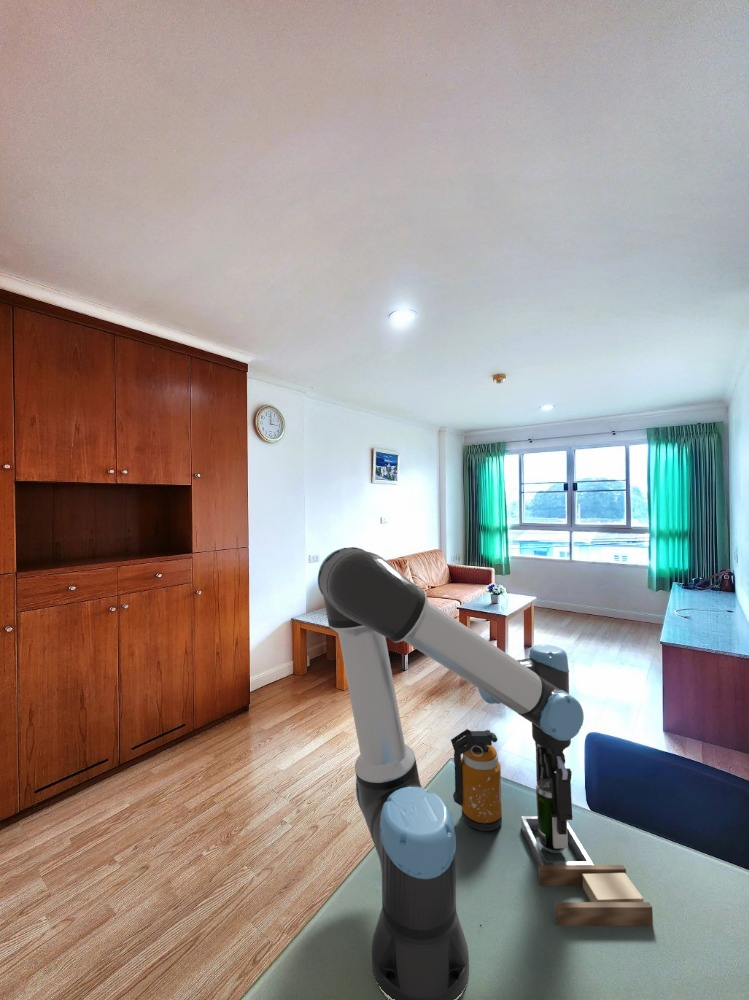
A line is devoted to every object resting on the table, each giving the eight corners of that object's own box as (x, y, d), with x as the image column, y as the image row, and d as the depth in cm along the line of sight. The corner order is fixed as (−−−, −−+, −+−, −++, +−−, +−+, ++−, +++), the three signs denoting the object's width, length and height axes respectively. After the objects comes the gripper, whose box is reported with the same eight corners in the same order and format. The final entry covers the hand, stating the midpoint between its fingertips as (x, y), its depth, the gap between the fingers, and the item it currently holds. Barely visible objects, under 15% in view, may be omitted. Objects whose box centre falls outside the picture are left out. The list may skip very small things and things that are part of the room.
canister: (507, 833, 95) (504, 740, 96) (456, 834, 96) (454, 741, 96) (496, 806, 104) (493, 721, 105) (450, 806, 105) (448, 722, 105)
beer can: (554, 858, 87) (550, 796, 87) (533, 840, 92) (529, 782, 92) (572, 847, 89) (568, 787, 90) (551, 831, 94) (547, 774, 94)
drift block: (598, 917, 76) (597, 899, 76) (582, 890, 81) (582, 873, 81) (644, 916, 76) (643, 898, 76) (625, 889, 81) (624, 872, 81)
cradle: (594, 878, 83) (593, 864, 83) (543, 878, 84) (543, 864, 84) (564, 827, 97) (564, 816, 97) (521, 827, 97) (520, 816, 97)
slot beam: (558, 925, 74) (557, 907, 74) (538, 881, 83) (538, 865, 83) (652, 925, 74) (652, 907, 74) (623, 881, 83) (622, 864, 83)
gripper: (589, 744, 82) (594, 871, 81) (551, 703, 100) (555, 806, 99) (549, 745, 82) (553, 872, 81) (519, 703, 101) (522, 806, 100)
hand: (554, 835), depth 90 cm, fingers closed on beer can, 5 cm apart
